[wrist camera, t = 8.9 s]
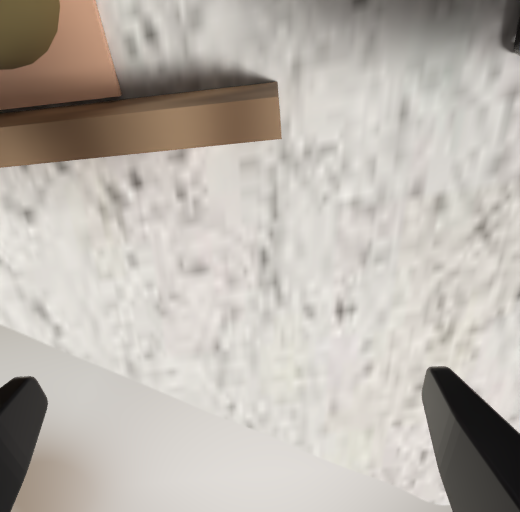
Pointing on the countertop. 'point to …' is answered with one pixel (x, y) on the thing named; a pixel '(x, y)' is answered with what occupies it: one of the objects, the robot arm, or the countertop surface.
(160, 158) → the countertop surface
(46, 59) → the corner arena
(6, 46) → the olive pepper mill
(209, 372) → the countertop surface
